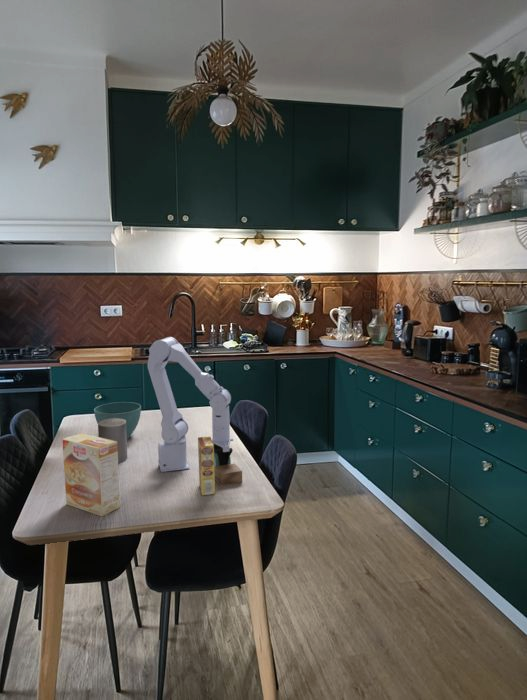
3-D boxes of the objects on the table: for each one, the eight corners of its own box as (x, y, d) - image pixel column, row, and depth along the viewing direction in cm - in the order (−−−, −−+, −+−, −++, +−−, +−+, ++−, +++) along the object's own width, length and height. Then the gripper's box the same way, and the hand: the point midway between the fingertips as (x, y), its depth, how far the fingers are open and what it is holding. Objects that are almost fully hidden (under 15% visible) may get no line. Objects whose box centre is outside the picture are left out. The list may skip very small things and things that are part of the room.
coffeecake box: (65, 504, 147) (61, 438, 144) (85, 495, 153) (82, 432, 150) (101, 517, 139) (97, 447, 136) (121, 507, 145) (118, 440, 142)
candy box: (215, 494, 153) (214, 445, 151) (201, 496, 152) (200, 446, 150) (211, 483, 161) (211, 436, 159) (198, 484, 161) (197, 437, 158)
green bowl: (117, 447, 196) (116, 415, 194) (85, 439, 205) (84, 409, 203) (151, 434, 211) (150, 405, 209) (120, 427, 220) (119, 399, 219)
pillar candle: (94, 459, 182) (92, 418, 180) (118, 452, 189) (116, 413, 187) (108, 466, 176) (106, 424, 174) (133, 459, 183) (131, 418, 181)
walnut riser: (221, 486, 159) (221, 474, 159) (214, 478, 166) (214, 466, 165) (242, 482, 162) (242, 470, 162) (234, 475, 168) (234, 463, 168)
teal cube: (216, 473, 169) (215, 458, 169) (212, 468, 174) (212, 453, 173) (230, 471, 171) (230, 457, 170) (227, 466, 176) (226, 452, 175)
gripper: (238, 431, 165) (238, 472, 167) (227, 419, 178) (227, 457, 180) (216, 433, 162) (217, 474, 164) (207, 421, 176) (208, 459, 178)
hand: (221, 465), depth 172 cm, fingers closed on teal cube, 5 cm apart
